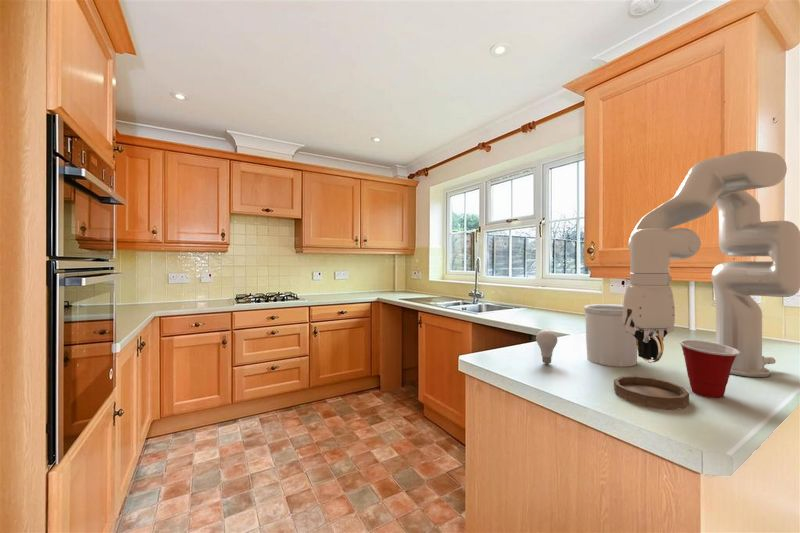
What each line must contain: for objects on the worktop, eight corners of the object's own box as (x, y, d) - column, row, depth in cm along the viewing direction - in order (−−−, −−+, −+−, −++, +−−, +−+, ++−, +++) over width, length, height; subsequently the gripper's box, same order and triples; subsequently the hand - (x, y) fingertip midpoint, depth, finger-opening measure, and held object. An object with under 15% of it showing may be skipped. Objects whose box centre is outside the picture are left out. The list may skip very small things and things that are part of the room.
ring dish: (652, 384, 89) (652, 375, 89) (705, 407, 75) (704, 396, 75) (601, 387, 88) (601, 377, 88) (645, 410, 74) (645, 399, 74)
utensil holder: (579, 361, 110) (579, 307, 109) (589, 352, 121) (589, 302, 121) (634, 371, 100) (634, 311, 100) (640, 359, 111) (640, 305, 111)
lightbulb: (558, 363, 108) (558, 328, 108) (555, 368, 103) (555, 332, 103) (538, 360, 112) (538, 327, 111) (534, 365, 106) (534, 330, 106)
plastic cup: (729, 407, 75) (729, 353, 75) (671, 391, 84) (671, 343, 84) (747, 397, 80) (747, 346, 80) (690, 383, 90) (690, 337, 90)
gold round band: (666, 367, 78) (667, 332, 78) (652, 366, 78) (653, 331, 78) (645, 358, 85) (646, 326, 85) (632, 358, 85) (633, 326, 85)
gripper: (666, 279, 85) (665, 352, 86) (607, 280, 84) (607, 354, 84) (694, 281, 78) (694, 361, 78) (630, 282, 77) (630, 363, 77)
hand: (649, 357), depth 81 cm, fingers closed on gold round band, 1 cm apart
